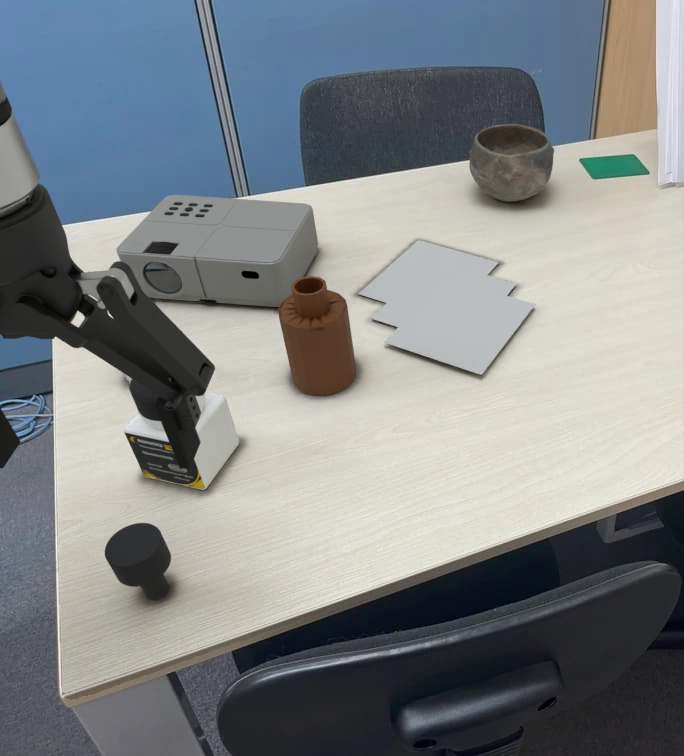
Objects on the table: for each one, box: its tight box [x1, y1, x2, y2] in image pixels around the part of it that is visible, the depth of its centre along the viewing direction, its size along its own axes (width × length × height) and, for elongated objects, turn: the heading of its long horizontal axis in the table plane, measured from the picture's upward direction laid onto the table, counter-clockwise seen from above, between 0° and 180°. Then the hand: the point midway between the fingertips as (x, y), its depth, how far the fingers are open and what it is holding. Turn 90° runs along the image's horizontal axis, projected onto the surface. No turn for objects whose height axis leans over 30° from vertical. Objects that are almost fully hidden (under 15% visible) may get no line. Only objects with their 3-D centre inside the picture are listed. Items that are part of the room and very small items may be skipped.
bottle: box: [277, 275, 357, 397], centre depth 82 cm, size 8×8×13 cm
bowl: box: [468, 123, 555, 203], centre depth 121 cm, size 14×15×10 cm
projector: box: [116, 194, 319, 309], centre depth 100 cm, size 17×22×8 cm
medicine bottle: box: [123, 378, 240, 491], centre depth 71 cm, size 7×7×12 cm
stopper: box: [104, 522, 172, 601], centre depth 61 cm, size 4×4×7 cm
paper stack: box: [357, 239, 536, 376], centre depth 98 cm, size 23×25×1 cm
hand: (99, 455), depth 54 cm, fingers open, 13 cm apart
